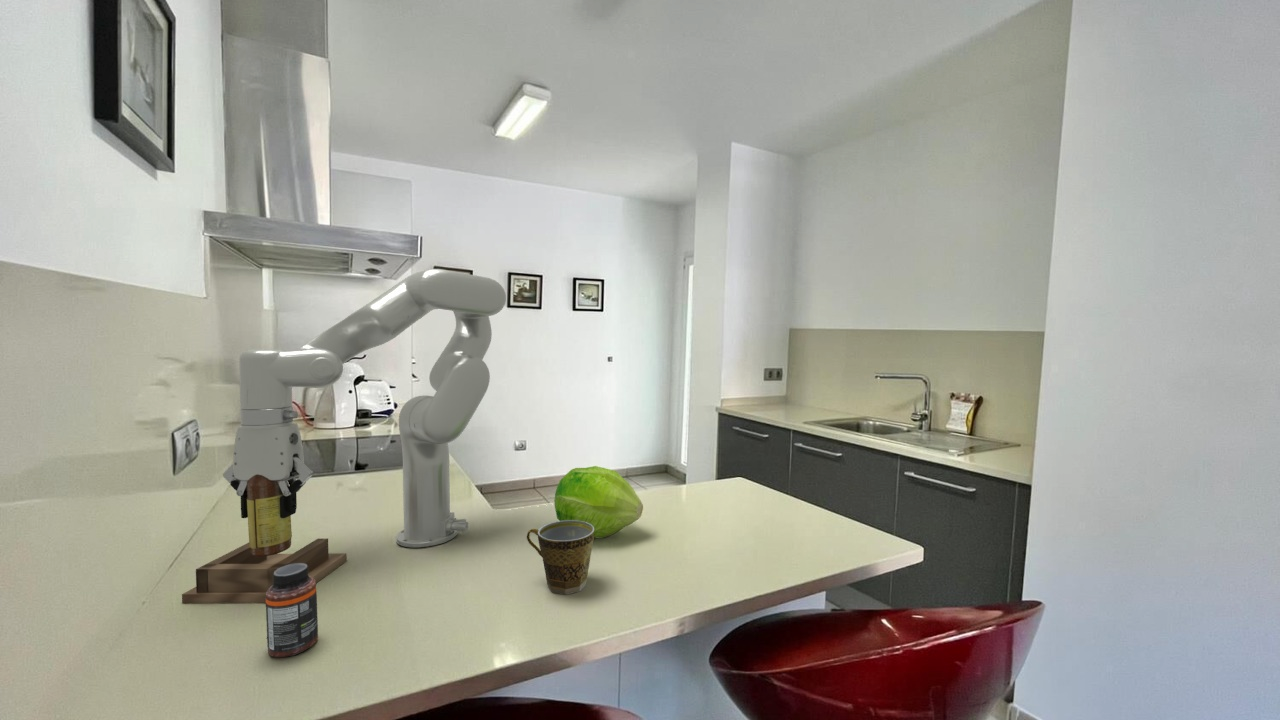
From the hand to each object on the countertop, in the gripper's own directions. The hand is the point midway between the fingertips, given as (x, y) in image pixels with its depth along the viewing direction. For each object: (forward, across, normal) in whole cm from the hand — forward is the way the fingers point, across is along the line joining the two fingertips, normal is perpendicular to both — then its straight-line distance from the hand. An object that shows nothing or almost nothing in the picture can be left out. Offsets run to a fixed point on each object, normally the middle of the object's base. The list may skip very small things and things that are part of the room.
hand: (269, 514), depth 90 cm
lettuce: (+12, -58, -21) cm, 63 cm away
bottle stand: (+12, 0, 0) cm, 12 cm away
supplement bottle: (+12, -18, +20) cm, 30 cm away
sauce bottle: (+7, 0, 0) cm, 7 cm away
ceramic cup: (+12, -53, +2) cm, 54 cm away
